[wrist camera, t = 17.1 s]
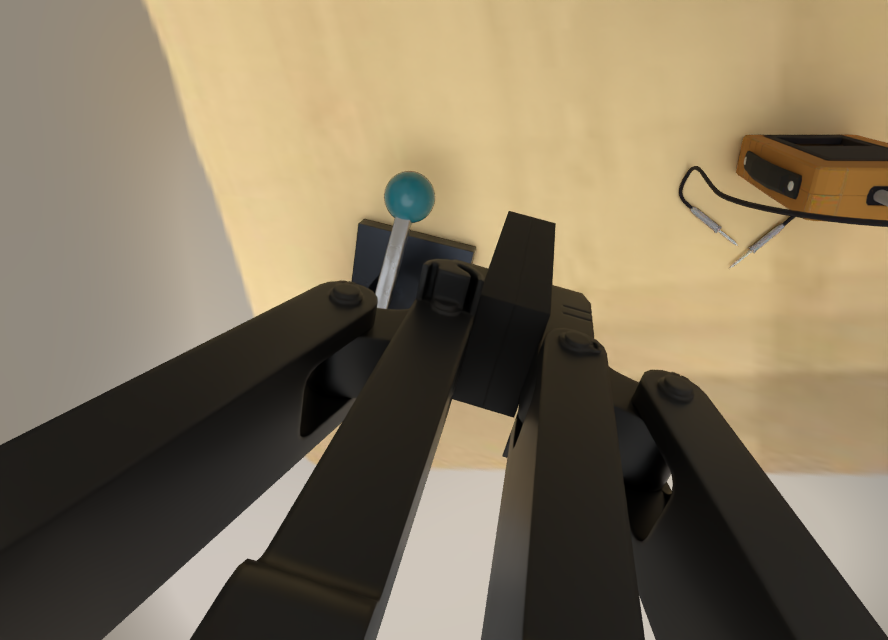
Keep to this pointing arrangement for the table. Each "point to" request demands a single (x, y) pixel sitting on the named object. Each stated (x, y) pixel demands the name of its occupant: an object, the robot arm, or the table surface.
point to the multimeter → (811, 179)
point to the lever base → (416, 253)
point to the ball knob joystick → (402, 225)
